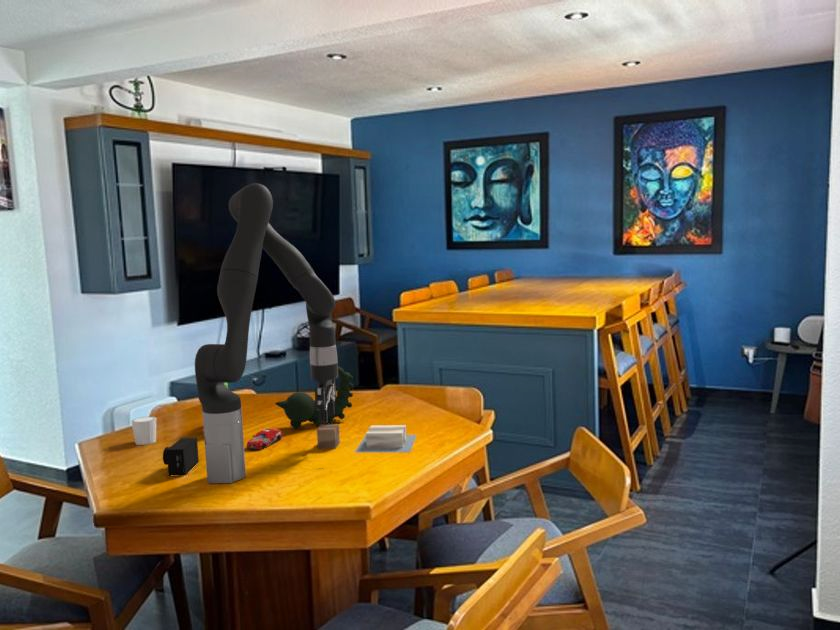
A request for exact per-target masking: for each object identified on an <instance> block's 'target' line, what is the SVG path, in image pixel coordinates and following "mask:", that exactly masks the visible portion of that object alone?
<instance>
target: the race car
mask: <svg viewBox="0 0 840 630" xmlns="http://www.w3.org/2000/svg"><path fill="white" fill-rule="evenodd" d="M282 438H283V433H282V431H281V430H280V429H279V428H276V429H275V428H264V429H262V430H259V431H258V432H256V434H255V435H252V438H251V439H249V440H248V441H247V442H246V448H247V449H248V450H252V451H253V450H262V449H263V450H265V449H266V448H267V447H269V446H271V445H273V444H275V443H277V441H278V442H280V441H281V440H282ZM279 440H280V441H279ZM264 448H265V449H264Z"/></svg>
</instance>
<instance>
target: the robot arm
mask: <svg viewBox="0 0 840 630" xmlns="http://www.w3.org/2000/svg"><path fill="white" fill-rule="evenodd" d="M273 206H274V200H273V196H272V194H271V192H270V190H269V189H268V188H267V186H265V185H263V184H262V183H257V182H256V183H255V182H254V183H251V184H248V185H246V186H244V187H241V189H240V190H238V191H237V192H235V193H234V194H233V195H232V196H231V197H230V199H229V201H228V210H229V214H230V215H231V216H232V218H233V219H234V220H235V221H236V222H237V226H236V231H235V234H234V237H233V239H232V241H231V243H230V246H229V247H228V249H227V251H226V254H225V255H224V257H223V258H224V259H223V260H222V264H221V268H220V273H219V277H218V282H217V287H216V291H217V297H218V301H219V303H220V305H221V308H222V310H223V313H224V316H225V319H226V327H227V328H226V335H225V342H224V344H223V343H222V344H221V343H219V344H218V343H216V344H215V343H214V344H213V343H208V344H207V343H206V344H204V345H202V346H200V347H199V348H198V349H197V351H196V353H195V358H194V374H195V375H194V376H195V381H196V389H197V395H198V400H199V402H200V405H201V409H202V410H201V411H202V412H201V413H202V425H203V426H202V427H203V437H204V452H205V453H204V454H205V464H206V465H205V466H206V467H205V468H206V479H207V481H206V483H207V484H232V483H234V482H236V481H240V480H242V479H243V478H245V477H246V473H247V472H246V470H247V469H246V459H245V458H246V457H245V456H246V455H245V443H244V442H245V441H244V430H243V429H244V427H243V411H242V400H241V396H240V395H239V394H237V393H235V392H233V391H232V390H230V389H229V387H228V388H227V387H226V386H225V385H224V382H225V383H228V384H229V383H230V384H231V383H236V382H238V381H239V380H240V379H241V378H242V377H243V375H244V373H245V369H246V366H247V365H246V364H247V356H248V348H249V347H248V345H249V344H248V343H249V332H250V322H251V317H252V310H253V306H254V305H253V304H254V298H255V294H256V290H257V285H258V279H259V272H260V271H259V270H260V265H261V264H260V263H261V260H262V252H263V251H265V252H266V254H267V255H268V256H269V257H270V258H271V259H272V261H273V262H274V263H275V264H276V265H277V267H278V268H279V269H280V271H281V272H282V273H283V275H284V276H285V278H286V280H288V283H290V284H291V286H292V287H293V288H294V289H296V291H297V292H299V294H300V296H301V297H302V298H303V300H304V301H305V311H306V316H307V317H306V318H307V323H308V326H309V327H308V329H309V366H310V379H311V380H312V381H316V382H317V386H316V387H314V400H315V408H316V410H318V411H319V423H320V425H327V424H328V423H327V422H328V419H327V415H334V414H335V411H334V401H335V398H336V396H337V390H336V379H338V378H339V375H338V367H339V362H338V351H337V350H338V349H337V346H336V345H337V344H336V343H337V342H336V329H335V326H334V325H333V322H332V320H333V318H332V313H333V311H334V310H335V308H336V299H335V297H334V295H333V293H332V292H331V291H330V289H329V288H328V287H327V285H325V284H324V282H323V281H322V280H321V279H320V278H319V277H318V276H317V274H316V273H315V271H314V269H313V267H312V266H311V264H310V263H309V262H308V261H307V260H306V258H305V256H304V255H303V254H302V252H300V251H299V250H298V249H297V248H296V247H295V246H294V245H293V244H291V243H290V242H289V241H288V240H287V239H285V238H283V236H281V235H280V234H279V233H278V232H277V230H275V229H274V228H273V226H272V225H271V224H270V222H269V221H270V218H271V215H272V211H273ZM321 403H322V404H323V405H320V404H321Z"/></svg>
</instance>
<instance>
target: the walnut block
mask: <svg viewBox="0 0 840 630" xmlns="http://www.w3.org/2000/svg"><path fill="white" fill-rule="evenodd" d="M316 439H317V449H323V450H324V449H337V447H338V446H339V445H340V443H341V441H340V439H341V438H340V424H320V425H319V426H318V428H317V429H316Z"/></svg>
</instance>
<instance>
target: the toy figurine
mask: <svg viewBox="0 0 840 630" xmlns="http://www.w3.org/2000/svg"><path fill="white" fill-rule="evenodd" d="M338 376H340V377H339V378H340V381H339V382H338V387H339V388H338V389H337V390H336V398H335V401H334V411H335V414H334V415H327V419H328V422H327V423H326V424H327V425H334V419H336V418H338V419H340V420H343V419H345V417H346V415H345V413H344V409H346V408H352V407H353V403H352V402H351V401H350V400H349V398H353V397H354V393H353V392H351V390H350V389H351V388H353V387H354V384H353V383H351V381H352V380H353V379H354V377H353V375H351V374H350V373H349V372H348V371H347V372H346V371H344V369H343V368H342V367H341V366H338ZM349 401H350V402H349ZM275 405H276V406H278V407H280V409H282V410H283V411H284V414H285V416H286V417H287V419H288V420H290V421H289V424H290V427H292V428H293V429H295V430H298V429H300V428H301V427H302V423H305V422H309V423H313V425H315V426H316V427H317V426H318V427H319V426H321V424H320V423H319V411H318V410H316V408H315V399H313V397H312V396H311V395H310V394H309V393H306V392H301V391H298V392H294V393H292V394H290V395H289V396H287V398H286V399H285V400H281V401H276V402H275ZM320 405H323V404H322V403H321V404H320Z"/></svg>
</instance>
